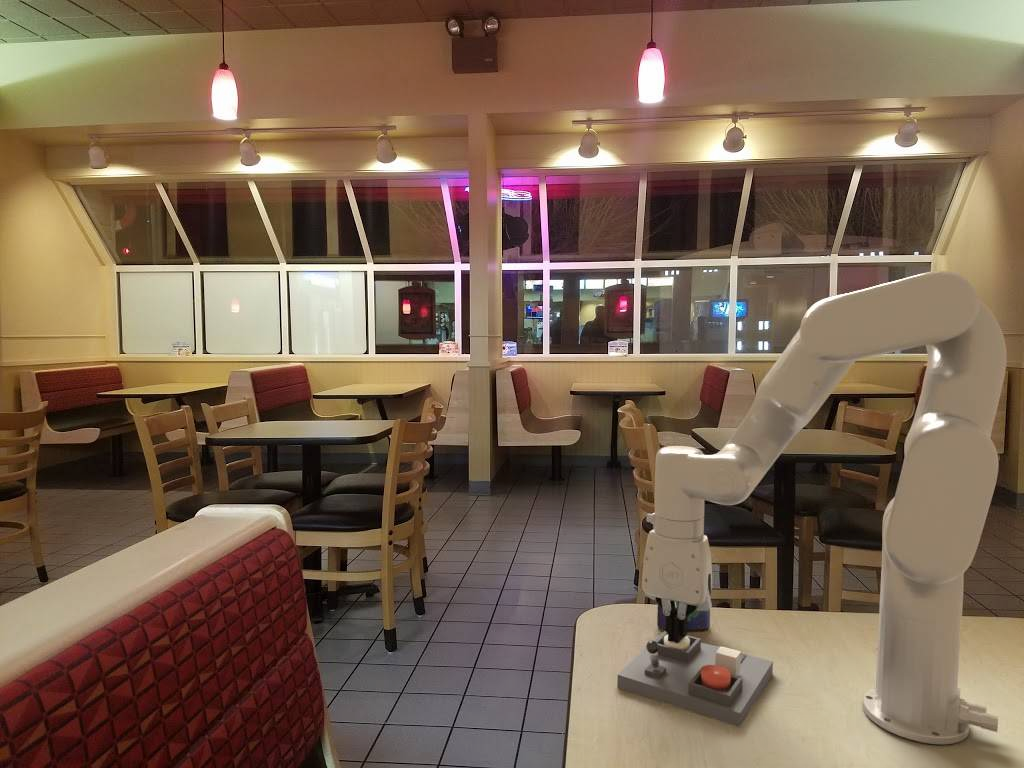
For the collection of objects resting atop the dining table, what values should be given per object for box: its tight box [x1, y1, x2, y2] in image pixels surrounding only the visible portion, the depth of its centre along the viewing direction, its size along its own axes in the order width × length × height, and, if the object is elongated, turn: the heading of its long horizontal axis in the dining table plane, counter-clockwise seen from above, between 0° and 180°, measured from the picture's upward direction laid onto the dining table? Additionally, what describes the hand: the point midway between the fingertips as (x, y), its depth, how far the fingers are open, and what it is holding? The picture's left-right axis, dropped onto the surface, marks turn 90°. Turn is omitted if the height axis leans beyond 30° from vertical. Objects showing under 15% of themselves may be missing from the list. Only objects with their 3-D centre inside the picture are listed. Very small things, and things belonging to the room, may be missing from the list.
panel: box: [616, 631, 774, 728], centre depth 104 cm, size 18×17×4 cm
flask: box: [656, 602, 711, 633], centre depth 122 cm, size 9×3×11 cm, turn 88°
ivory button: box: [664, 634, 690, 651], centre depth 110 cm, size 4×4×2 cm
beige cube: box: [715, 646, 742, 676], centre depth 102 cm, size 3×2×3 cm
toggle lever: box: [645, 640, 659, 668], centre depth 102 cm, size 2×2×5 cm
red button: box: [701, 665, 731, 690], centre depth 98 cm, size 4×4×2 cm
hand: (676, 638), depth 110 cm, fingers closed
